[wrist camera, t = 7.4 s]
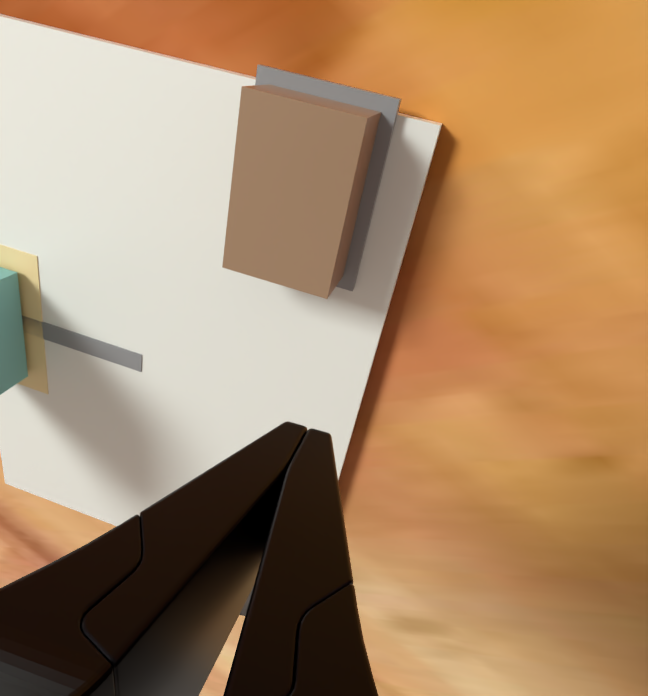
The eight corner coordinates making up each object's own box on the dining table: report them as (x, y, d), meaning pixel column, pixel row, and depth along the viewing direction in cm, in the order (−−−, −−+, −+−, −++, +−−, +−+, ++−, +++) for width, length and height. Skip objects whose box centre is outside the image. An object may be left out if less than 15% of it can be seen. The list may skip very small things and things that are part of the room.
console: (446, 108, 18) (438, 116, 15) (306, 592, 32) (286, 648, 29) (-51, -14, 21) (-144, -28, 18) (15, 481, 35) (-31, 522, 31)
